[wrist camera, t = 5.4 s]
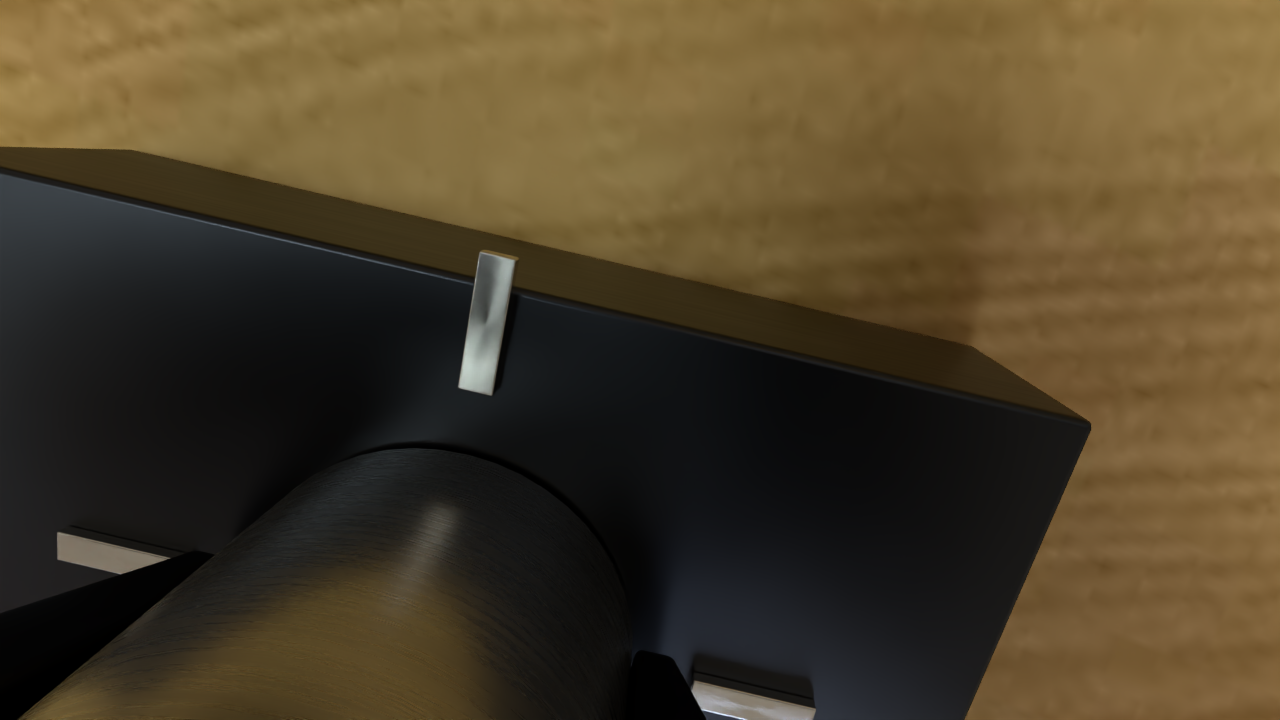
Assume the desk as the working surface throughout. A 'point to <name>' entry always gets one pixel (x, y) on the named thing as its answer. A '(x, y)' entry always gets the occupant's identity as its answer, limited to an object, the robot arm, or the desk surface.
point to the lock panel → (516, 423)
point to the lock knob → (380, 609)
